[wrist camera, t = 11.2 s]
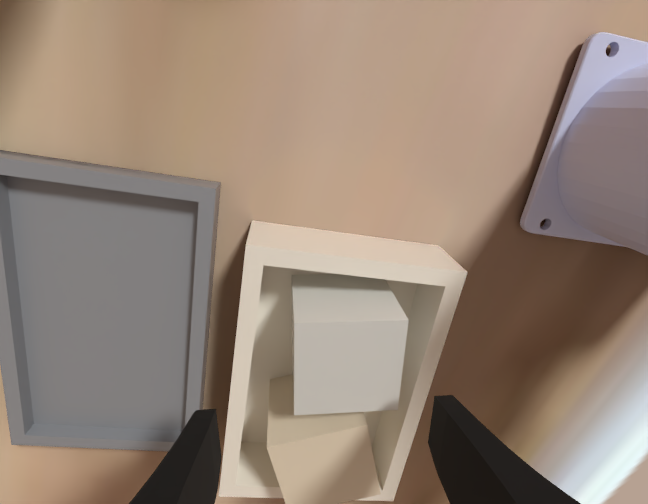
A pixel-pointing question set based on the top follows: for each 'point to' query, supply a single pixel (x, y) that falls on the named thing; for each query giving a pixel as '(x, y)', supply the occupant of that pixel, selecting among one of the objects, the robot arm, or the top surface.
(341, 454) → the beige cube
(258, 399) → the cream dish
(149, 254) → the slate tray
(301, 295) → the light gray cube
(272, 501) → the top surface
